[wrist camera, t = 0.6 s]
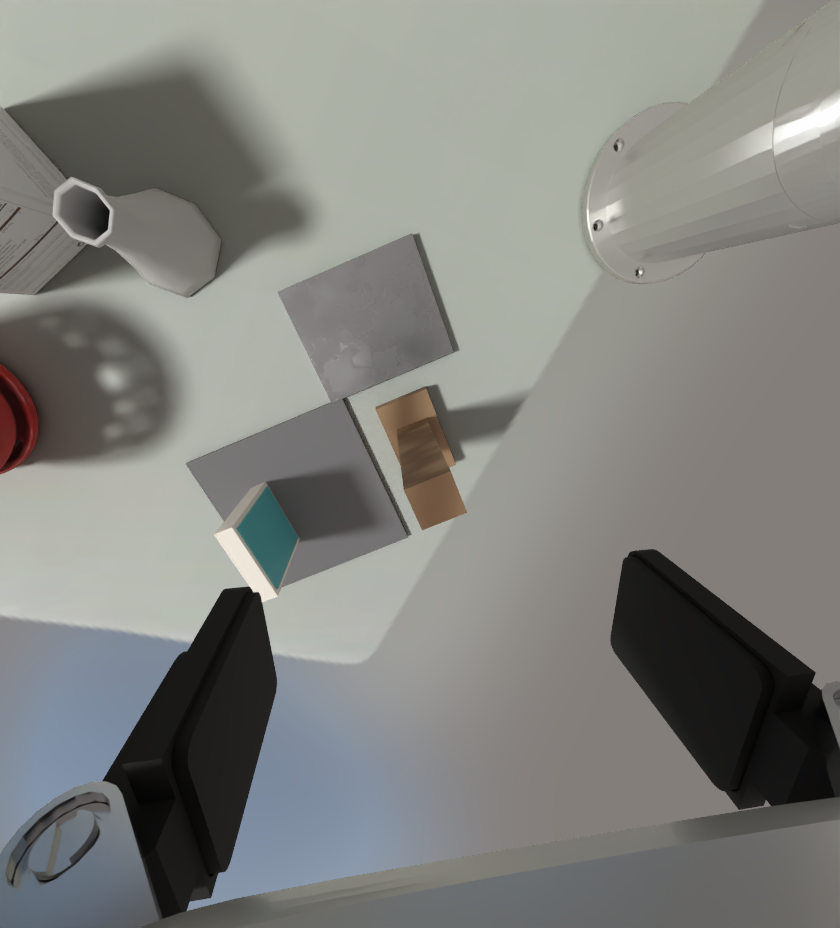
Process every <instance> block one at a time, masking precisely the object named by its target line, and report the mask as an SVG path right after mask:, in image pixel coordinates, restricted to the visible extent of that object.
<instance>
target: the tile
mask: <svg viewBox="0 0 840 928" xmlns="http://www.w3.org/2000/svg"><path fill="white" fill-rule="evenodd" d="M214 535H215V537H216V538H217V540H218V541H219V543H220V544H221V546H222V547H223V548H224V550H225V551H226V553H227V554H228V556H229V557H230V559H231V560H232V561H233V563H234V564H235V566H236V567H237V569H238V570H239V572H240V573H241V574H242V576H243V577H244V579H245V580H246V582H247V583H248V585H249V586H250V587H251V589H252V590H253V592H259V593H260V596H261V600H262V602H264V601H267V600H269V599H272V598H275V597H277V596H278V594H279V592H280V589H281V586H282V584H283V581H284V579H285V576H286V573H287V571H288V568H289V566H290V563H291V560H292V558H293V555H294V553H295V550H296V547H297V545H298V542H299V540H300V539H299V537H298V535H297V533H296V532H295V530H294V528H293V527H292V525H291V523H290V522H289V520H288V518H287V517H286V515H285V513H284V512H283V510H282V508H281V507H280V505H279V503H278V502H277V500H276V498H275V497H274V495H273V493H272V492H271V490H270V488H269V487H268V485H267V483H266V482H263V483H261V484H259V485H256V486H254V487H251V489H250V490H249V491H248V492H247V494H246V495H245V496H244V497H243V499H242V500H241V501H240V502H239V504H238V505H237V506H236V507H235V509H234V510H233V511H232V512H231V514H230V515H229V516H228V517H227V519H226V520H225V521H224V522H223V524H222V525H221V526H220V527H219V529H218V530H217V531H216V532H215V534H214Z"/></svg>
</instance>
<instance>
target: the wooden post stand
mask: <svg viewBox="0 0 840 928" xmlns="http://www.w3.org/2000/svg"><path fill="white" fill-rule="evenodd" d="M376 411H377V414H378V416H379V418H380V420H381V423H382V425H383V427H384V429H385V432H386V434H387V436H388V438H389V441H390V443H391V445H392V447H393V449H394V452H395V454H396V456H397V458H398V461H399V463H400V465H401V471H402V478H403V486H404V491H405V493H406V496H407V498H408V500H409V502H410V504H411V507H412V509H413V511H414V513H415V515H416V518H417V520H418V522H419V524H420V526H421V529H422V530H424V529H427V528H429V527H432V526H434V525H437V524H439V523H442V522H444V521H447V520H449V519H452V518H454V517H457V516H459V515H462V514H464V513H467V512H466V509H465V506H464V504H463V501H462V499H461V496H460V494H459V491H458V489H457V486H456V484H455V481H454V479H453V476H452V474H451V471H450V469H449V467H451V466H454V465H456V464H455V461H454V458H453V456H452V453H451V451H450V448H449V446H448V443H447V440H446V438H445V435H444V433H443V430H442V428H441V425H440V422H439V420H438V417H437V415H436V412H435V410H434V407H433V405H432V402H431V399H430V397H429V394H428V392H427V389H426V387H423V388H421V389H418V390H416V391H413V392H411V393H409V394H406V395H404V396H401V397H399V398H396V399H394V400H392V401H389V402H387V403H384V404H382V405H380V406H377V407H376Z"/></svg>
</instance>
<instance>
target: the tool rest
mask: <svg viewBox="0 0 840 928" xmlns="http://www.w3.org/2000/svg"><path fill="white" fill-rule="evenodd" d="M278 294H279V296H280V298H281V300H282V302H283V304H284V306H285V308H286V310H287V312H288V314H289V316H290V318H291V321H292V323H293V325H294V327H295V329H296V331H297V333H298V335H299V337H300V339H301V341H302V343H303V345H304V347H305V349H306V351H307V353H308V355H309V357H310V360H311V362H312V364H313V366H314V368H315V370H316V372H317V374H318V376H319V378H320V380H321V382H322V384H323V386H324V388H325V390H326V392H327V394H328V397H329V399H330V401H331V403H333V402H336V401H338V400H340V399H343V398H345V397H348V396H350V395H352V394H355V393H357V392H359V391H362V390H364V389H367V388H369V387H371V386H374V385H376V384H379V383H381V382H383V381H386V380H388V379H391V378H393V377H395V376H398V375H400V374H403V373H405V372H407V371H410V370H412V369H414V368H417V367H419V366H422V365H424V364H426V363H429V362H431V361H434V360H436V359H438V358H441V357H443V356H446V355H448V354H450V353H453V349H452V346H451V343H450V340H449V337H448V334H447V332H446V329H445V326H444V323H443V320H442V317H441V314H440V312H439V309H438V306H437V303H436V300H435V297H434V294H433V292H432V289H431V286H430V283H429V280H428V277H427V274H426V272H425V269H424V266H423V263H422V260H421V257H420V254H419V252H418V249H417V246H416V243H415V240H414V237H413V235H412V234H409V235H407V236H405V237H403V238H400V239H398V240H396V241H393V242H391V243H389V244H386V245H384V246H382V247H380V248H377V249H375V250H373V251H370V252H368V253H366V254H364V255H361V256H359V257H357V258H354V259H352V260H350V261H347V262H345V263H343V264H341V265H338V266H336V267H334V268H331V269H329V270H327V271H325V272H322V273H320V274H318V275H315V276H313V277H311V278H309V279H306V280H304V281H302V282H299V283H297V284H295V285H292V286H290V287H288V288H286V289H283V290H281V291H279V292H278Z"/></svg>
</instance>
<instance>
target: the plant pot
mask: <svg viewBox="0 0 840 928" xmlns="http://www.w3.org/2000/svg"><path fill="white" fill-rule="evenodd" d="M37 436H38V417H37V412H36V409H35V406H34V404H33V401H32V399H31V398H30V396H29V394H28V392H27V391H26V389H25V388H24V386H23V385H22V384H21V383H20V381H19V380H18V379H17V378H16V377H15V376H14V375H13V374H12V373H11V372H10V371H9V370H8V369H6V368H5V367H4V366H3V365H1V364H0V474H2V473H5V472H7V471H10V470H11V469H13V468H15V467H17V466H18V465H20V464H21V463H22V462H23V461H24V460H25V459H26V458H27V457H28V456H29V455H30V453H31V452H32V450H33V448H34V446H35V444H36V441H37Z"/></svg>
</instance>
